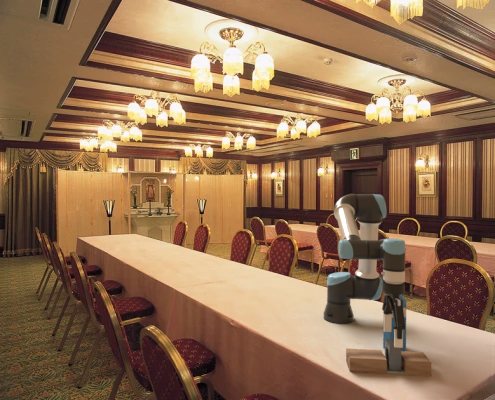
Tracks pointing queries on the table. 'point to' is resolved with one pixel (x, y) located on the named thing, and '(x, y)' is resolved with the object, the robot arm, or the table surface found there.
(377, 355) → the rail
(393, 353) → the clip
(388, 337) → the water bottle
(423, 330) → the table surface
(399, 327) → the robot arm
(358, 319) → the table surface
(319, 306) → the table surface
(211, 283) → the table surface
